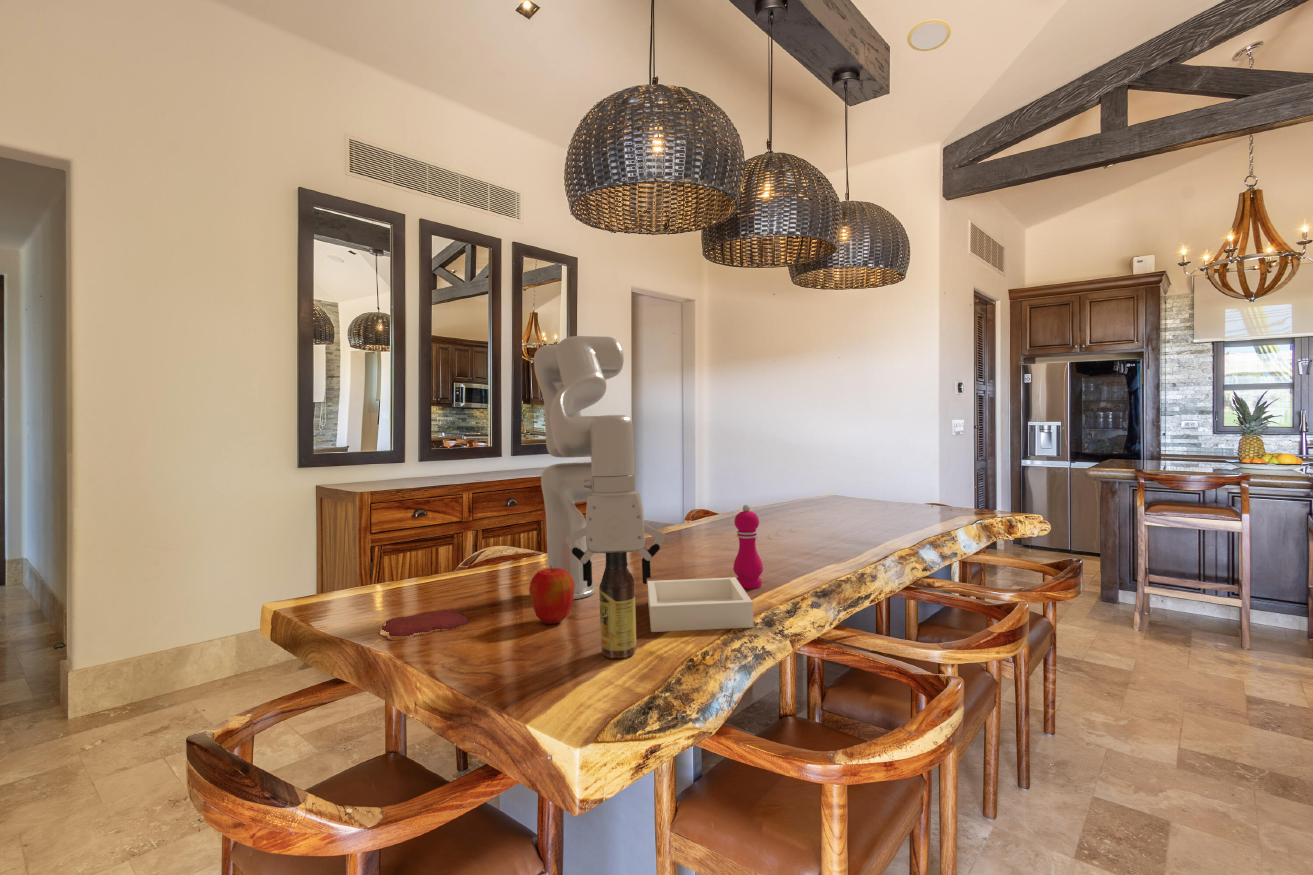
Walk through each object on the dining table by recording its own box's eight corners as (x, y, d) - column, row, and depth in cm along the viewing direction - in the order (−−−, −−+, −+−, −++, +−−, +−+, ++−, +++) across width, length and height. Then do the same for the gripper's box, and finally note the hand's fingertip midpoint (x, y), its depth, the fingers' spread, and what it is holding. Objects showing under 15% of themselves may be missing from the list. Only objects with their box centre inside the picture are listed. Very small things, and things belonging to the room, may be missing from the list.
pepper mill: (762, 582, 156) (760, 502, 155) (764, 589, 148) (762, 506, 148) (733, 582, 156) (731, 503, 156) (734, 589, 149) (731, 507, 149)
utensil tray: (651, 632, 120) (650, 606, 120) (648, 603, 140) (647, 581, 140) (753, 627, 121) (752, 601, 121) (736, 599, 141) (735, 577, 141)
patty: (385, 645, 119) (385, 635, 119) (373, 627, 130) (373, 618, 130) (476, 627, 128) (475, 617, 128) (457, 612, 140) (457, 603, 140)
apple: (537, 632, 122) (535, 571, 122) (525, 620, 130) (523, 563, 130) (582, 624, 127) (580, 565, 126) (567, 613, 135) (565, 558, 134)
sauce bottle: (601, 648, 112) (597, 539, 112) (635, 646, 113) (632, 537, 112) (601, 662, 106) (597, 546, 105) (637, 660, 106) (634, 544, 106)
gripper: (561, 489, 104) (565, 591, 104) (664, 485, 105) (667, 586, 105) (566, 486, 112) (569, 581, 112) (661, 482, 113) (665, 576, 113)
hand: (617, 583), depth 108 cm, fingers open, 9 cm apart
